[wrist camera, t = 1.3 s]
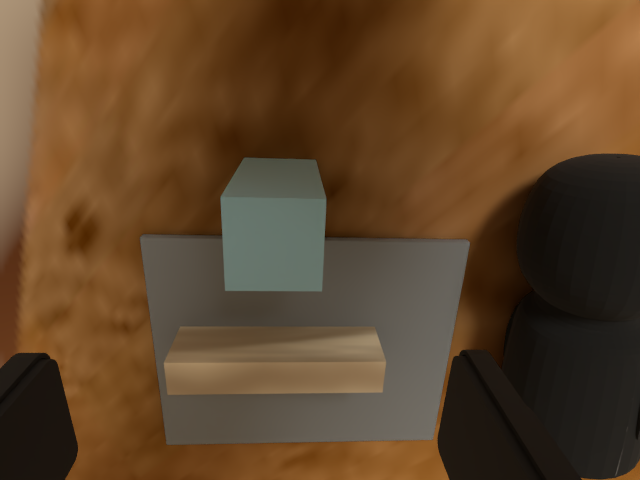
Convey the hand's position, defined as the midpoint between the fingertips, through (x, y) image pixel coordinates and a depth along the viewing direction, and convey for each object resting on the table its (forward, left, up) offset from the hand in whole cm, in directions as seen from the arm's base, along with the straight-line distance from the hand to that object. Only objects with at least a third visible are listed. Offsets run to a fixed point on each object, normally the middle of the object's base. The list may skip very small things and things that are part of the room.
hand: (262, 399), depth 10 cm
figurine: (+6, +20, -19) cm, 28 cm away
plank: (+11, 0, -18) cm, 21 cm away
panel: (+12, +2, -18) cm, 22 cm away
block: (0, 0, -18) cm, 18 cm away
